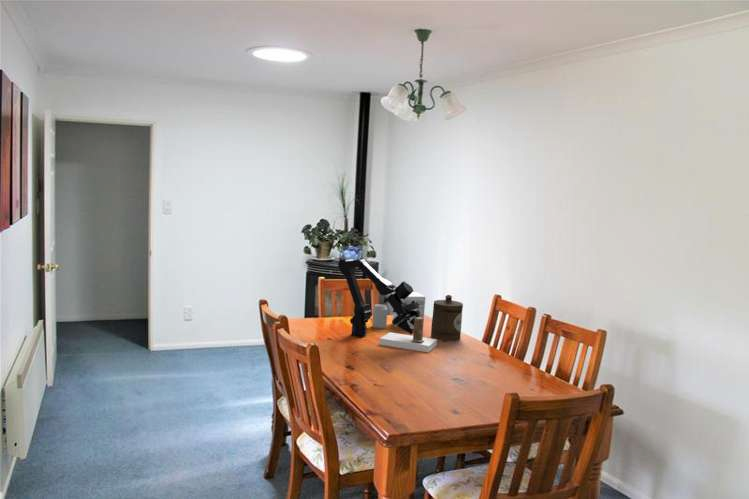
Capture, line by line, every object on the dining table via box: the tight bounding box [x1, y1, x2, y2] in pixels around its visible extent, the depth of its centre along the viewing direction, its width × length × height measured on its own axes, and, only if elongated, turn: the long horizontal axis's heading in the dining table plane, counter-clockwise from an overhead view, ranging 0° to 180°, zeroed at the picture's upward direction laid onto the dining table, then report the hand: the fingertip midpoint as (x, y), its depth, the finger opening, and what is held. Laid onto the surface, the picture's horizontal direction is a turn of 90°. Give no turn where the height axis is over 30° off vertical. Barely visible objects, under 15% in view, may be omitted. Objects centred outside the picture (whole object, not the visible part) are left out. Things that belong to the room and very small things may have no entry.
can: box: [371, 303, 388, 330], centre depth 337 cm, size 8×8×12 cm
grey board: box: [379, 332, 438, 353], centre depth 306 cm, size 24×14×3 cm, turn 70°
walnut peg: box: [412, 317, 425, 343], centre depth 301 cm, size 5×5×14 cm
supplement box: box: [392, 291, 426, 330], centre depth 344 cm, size 13×13×18 cm
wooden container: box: [430, 294, 464, 342], centre depth 323 cm, size 15×15×22 cm
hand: (416, 332), depth 302 cm, fingers open, 9 cm apart
